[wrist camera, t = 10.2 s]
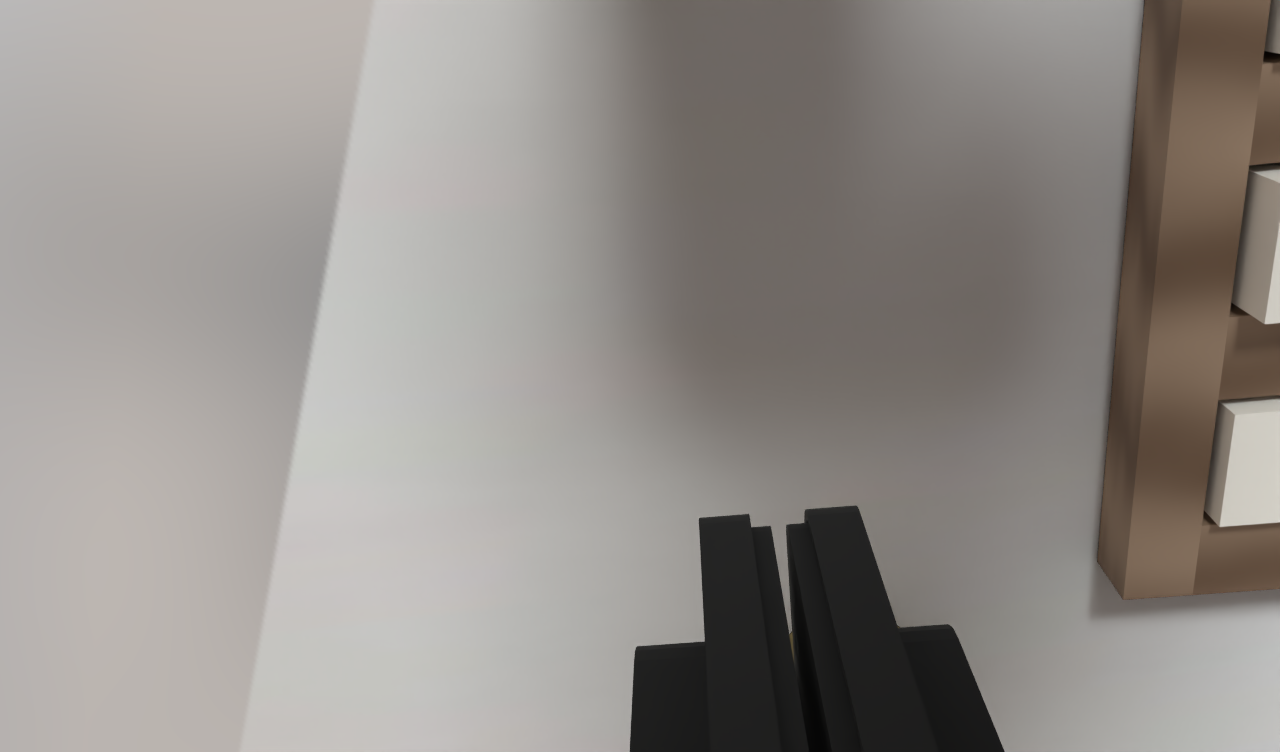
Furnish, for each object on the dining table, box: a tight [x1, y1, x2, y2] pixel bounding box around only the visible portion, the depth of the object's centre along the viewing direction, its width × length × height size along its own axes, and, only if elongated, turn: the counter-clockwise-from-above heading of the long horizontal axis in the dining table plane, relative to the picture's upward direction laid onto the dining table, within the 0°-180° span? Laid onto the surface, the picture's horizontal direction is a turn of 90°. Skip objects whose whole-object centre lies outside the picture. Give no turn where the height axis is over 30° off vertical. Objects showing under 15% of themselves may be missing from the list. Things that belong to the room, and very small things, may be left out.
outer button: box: [1204, 395, 1280, 527], centre depth 36 cm, size 4×4×2 cm
